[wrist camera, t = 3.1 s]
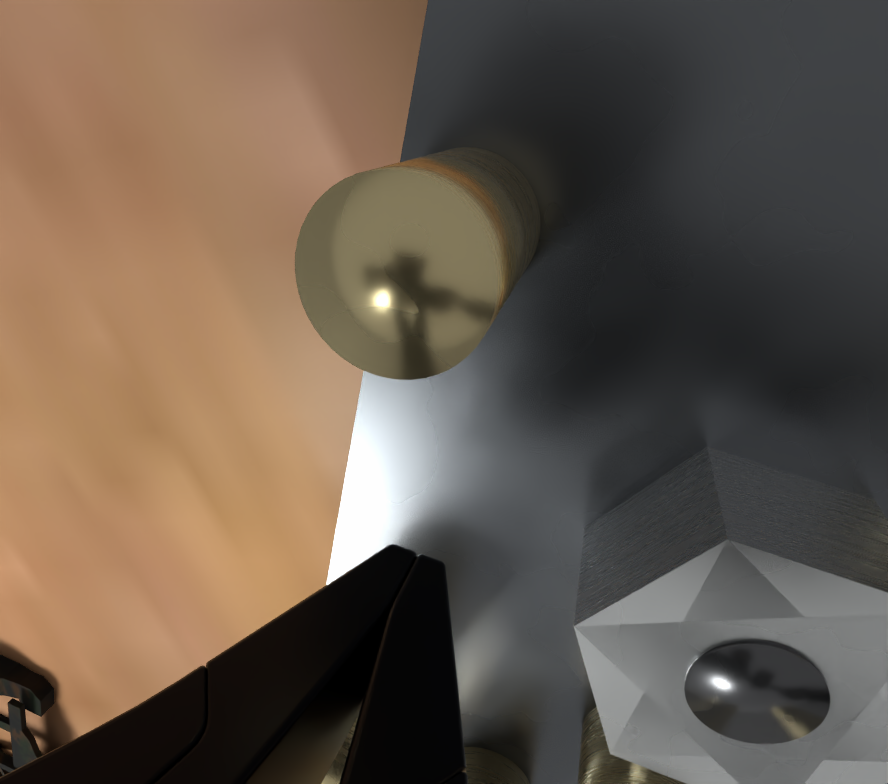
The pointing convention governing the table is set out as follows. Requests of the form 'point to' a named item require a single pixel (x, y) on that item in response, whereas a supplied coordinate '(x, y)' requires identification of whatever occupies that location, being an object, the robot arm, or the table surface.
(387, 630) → the robot arm
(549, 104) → the spacer plate
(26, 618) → the table surface
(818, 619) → the nut
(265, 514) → the table surface
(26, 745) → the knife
